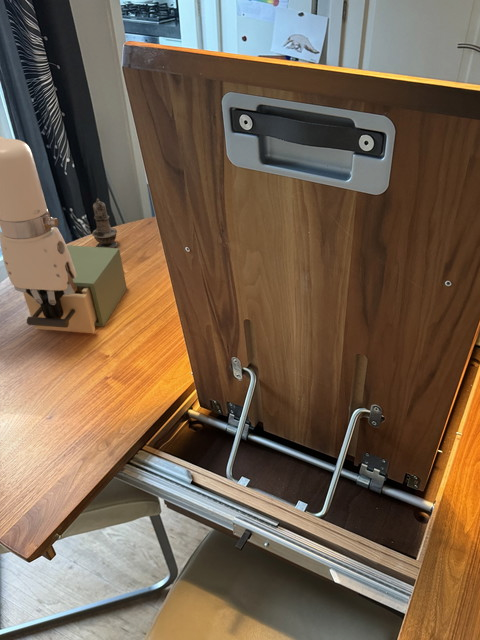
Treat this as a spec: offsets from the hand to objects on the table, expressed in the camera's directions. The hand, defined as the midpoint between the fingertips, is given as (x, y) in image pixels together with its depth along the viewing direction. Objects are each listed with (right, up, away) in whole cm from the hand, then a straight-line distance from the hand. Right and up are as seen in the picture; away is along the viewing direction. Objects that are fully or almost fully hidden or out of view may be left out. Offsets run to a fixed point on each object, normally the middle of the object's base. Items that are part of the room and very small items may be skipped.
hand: (55, 319), depth 94 cm
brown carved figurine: (-2, +22, +34) cm, 40 cm away
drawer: (0, +1, +7) cm, 7 cm away
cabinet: (+1, +4, +13) cm, 14 cm away
